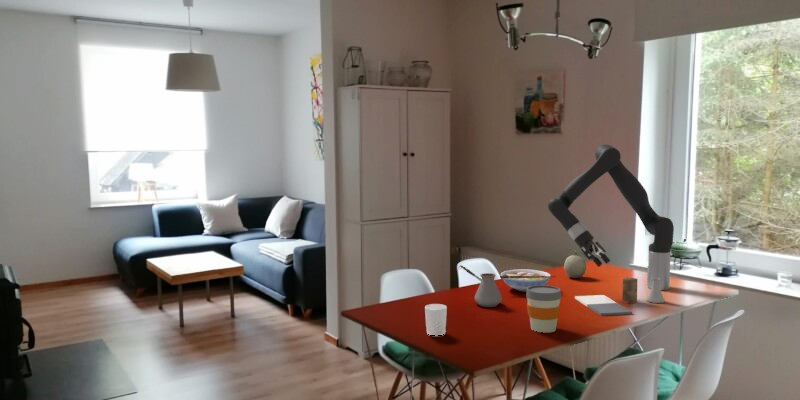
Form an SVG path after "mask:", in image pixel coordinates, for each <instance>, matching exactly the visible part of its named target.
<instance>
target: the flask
mask: <svg viewBox="0 0 800 400" xmlns="http://www.w3.org/2000/svg"><path fill="white" fill-rule="evenodd" d="M652 280H653V284H652V288H651V289H650V290H649V293H648V295H647V299H646V302H649V303H653V304H665V298H664V295H663V293H662V290H661V289H660V285H659V280H660V278H652Z"/></svg>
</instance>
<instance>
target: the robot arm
mask: <svg viewBox="0 0 800 400" xmlns="http://www.w3.org/2000/svg"><path fill="white" fill-rule="evenodd" d="M621 157H622V156H621V152H620V151H619V149H617V148H616V147H614V146H612V145H610V144H601V145H599V146H598V147H597V148H596V150H595V160H596V161H595V162H594V164H592V165H591V167H589V168H588V169H587V170H585V171H584V172H582V173H581V174H579V175H578V176H576V177H574V179H572V181H570V182H569V183H568V185H566V186H565V187H564V188H563V190H562V192H561V194H560V195H558V197H555V198H551V199H550V200H549V201H548V204H547V208H548V211H549V212H550V213H551V215H552V216H553V217H554V218H555V219H556V220H557V221H558V222H560V224H561V225H562V227H563V228H564V229H565V231H566V232H567V233H568V235H569V236H570V238H571V239H572V240H573V242H575V243H576V245H577V246H578V247H579V248H580V251H581V253H583V254H585V255H586V256H585V255H584V256H585V257H586V258H587V259H588V260H591V261H592V262H594V263H595V265H596V266H597V267H602V265H603V262H604V263H605V264H606V265H607V264H609V262H611V259H610V258H609V257H608V256H607V255H606V252H607V251H606V249H604V247H603V246H602V245H601V244H600V243H599V242H598V241H596V242H594V241H593V240H594V239H595V238H594V236H593V235H592V234H591V232H590V231H589V229H588V228H587V227H586V226H585V225H584V224H583V223H582V222H580V220H579V219H578V218H577V217H576V215H574V214H573V213H572V212H571V210H569V208H570V207H571V206H572V204H573V203H574V202H575V200H577V199H578V198H579V197H580V196H581V195H582V194H583V193H584V192H585V191H586V190H587V189H588V188H589V187H590V186H592V184H594V183H595V182H596V181H597V180H599V178H601V177H602V176H604V175H605V174H606V173H608V174H609V176H610V178H611V179H612V180H613V182H614V184H615V185H616V187H617V189H618V190H619V192H620V194H622V196H623V197H624V199H625V200H626V202H628V204H629V205H630V207H631V208H632V210H633V211H634V212H635V213H636V215H637V216H638V218H639V220H640V221H641V223H642V225H643V226H644V228H645V229H646V231H647V233H648V234H650V235H652V236H654V237H653V238H654V239H653V242H652V243H649V244H648V261H647V263H648V265H647V277H646V278H647V281H646V285H647V288H648V289H650V290H651V288H652V284H653V280H652V278H660V280H659V285H660V289H661V291H667V290H669V289H670V277H671V248H672V246H673V244H674V231H675V230H674V228H675V227H674V223H673V220H672V219H670V218H669V217H665V216H661V215H659V214H658V213H657V212H656V211H655V209H653V207H652V206H651V204H650V201H649V196H648V192H647V190H646V188H644V186H643V185H642V183H641V182H640V181H639V179H637V177H636V176H635V175H634V174H633V173H632V172H631V171H630V170H629V169H628V168H627V167H626V166H625V165H624V164H623V162H622V160H621ZM597 256H599V257H600V258H598V257H597ZM600 259H602V260H603V262H602V261H601V260H600Z"/></svg>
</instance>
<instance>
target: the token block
mask: <svg viewBox="0 0 800 400" xmlns="http://www.w3.org/2000/svg"><path fill="white" fill-rule="evenodd" d="M637 302H638V278H634V277H628V276H627V277H624V278H623V279H622V303H626V304H631V305H634V304H635V303H637Z"/></svg>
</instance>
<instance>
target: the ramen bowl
mask: <svg viewBox="0 0 800 400" xmlns="http://www.w3.org/2000/svg"><path fill="white" fill-rule="evenodd" d="M499 278H500V279H502V280H503V282H504V283H505V284H506V285H507V286H508V287H510V288H512V289H514V290H517V291H518V292H523V293H527V288H528V287H530V286H535V285H547V283H548V282H549V281H550V280H551V278H556V276H551V274H550V273H549V272H546V271H543V270H536V269H529V268H528V269H524V268H522V269H509V270H504V271H503V272H501V273H500V275H499Z"/></svg>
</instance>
